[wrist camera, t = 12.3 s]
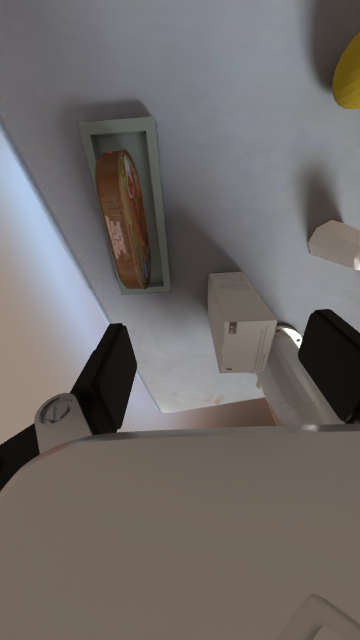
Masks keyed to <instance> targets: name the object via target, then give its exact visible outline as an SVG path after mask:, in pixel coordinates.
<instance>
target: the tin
mask: <svg viewBox="0 0 360 640" xmlns="http://www.w3.org/2000/svg"><path fill="white" fill-rule="evenodd" d="M95 181H96V189H97V196H98V200H99V204H100V208H101V212H102V216H103V220H104V224H105V228H106V232H107V236H108V239H109V243H110V247H111V251H112V255H113V259H114V262H115V266H116V270H117V273H118V276H119V278H120V280H121V282H122V284H123V285H124V286H125V287H126V288H128V289H147V288H148V287H149V284H150V278H151V255H150V247H149V240H148V233H147V226H146V219H145V212H144V205H143V198H142V192H141V186H140V182H139V178H138V173H137V170H136V167H135V164H134V162H133V159H132V157H131V155H130V153H129V152H128V151H127V150H126V149H122V150H121V151H109V152H104V153H102V154H101V155H99V157H98V159H97V162H96V168H95Z"/></svg>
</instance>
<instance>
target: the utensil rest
mask: <svg viewBox="0 0 360 640" xmlns="http://www.w3.org/2000/svg"><path fill="white" fill-rule="evenodd" d="M77 124H78V128H79V132H80V136H81V140H82V144H83V147H84V151H85V155H86V159H87V163H88V167H89V171H90V175H91V178H92V182H93V186H94V190H95V194H96V198H97V202H98V206H99V209H100V213H101V217H102V221H103V225H104V229H105V233H106V237H107V240H108V244H109V248H110V252H111V256H112V260H113V264H114V268H115V271H116V275H117V279H118V283H119V287H120V291H121V295H124V294H141V293H158V292H171V278H170V268H169V257H168V246H167V235H166V224H165V213H164V202H163V191H162V180H161V169H160V158H159V147H158V136H157V125H156V120H155V117H154V116H153V117H140V118H127V119H115V120H102V121H89V122H77ZM122 149H126V150H127V151H128V152H129V153H130V155H131V157H132V159H133V162H134V164H135V167H136V170H137V173H138V178H139V182H140V186H141V192H142V198H143V205H144V212H145V219H146V226H147V233H148V240H149V247H150V255H151V278H150V284H149V287H148V288H147V289H128V288H126V287H125V286H124V285H123V284H122V282H121V280H120V278H119V276H118V273H117V270H116V266H115V262H114V259H113V255H112V251H111V247H110V243H109V239H108V236H107V232H106V228H105V224H104V220H103V216H102V212H101V208H100V204H99V200H98V196H97V189H96V181H95V168H96V162H97V159H98V157H99V155H101V154H102V153H104V152H109V151H121V150H122Z"/></svg>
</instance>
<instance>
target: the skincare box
mask: <svg viewBox="0 0 360 640" xmlns="http://www.w3.org/2000/svg"><path fill="white" fill-rule="evenodd" d="M208 318H209V323H210V328H211V333H212V338H213V343H214V348H215V353H216V358H217V363H218V368H219V372H220V373H239V372H264V371H265V367H266V363H267V360H268V356H269V352H270V348H271V344H272V340H273V336H274V332H275V328H276V325H277V319H276V318H275V316H274V315H273V313H272V312H271V311H270V309H269V308H268V307H267V305H266V304H265V302H264V301H263V299H262V298H261V297H260V295H259V294H258V292H257V291H256V290H255V288H254V287H253V285H252V284H251V282H250V281H249V280H248V278H247V277H246V276H245V274H244V273H243V272H229V273H209V276H208Z"/></svg>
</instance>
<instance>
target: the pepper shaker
mask: <svg viewBox="0 0 360 640" xmlns="http://www.w3.org/2000/svg"><path fill="white" fill-rule="evenodd" d="M308 245H309V249H310V254H312V255H314V256H317V257H320V258H323V259H326V260H329V261H332V262H335V263H338V264H341V265H344V266H347V267H350V268H353V269H356V270H360V230H358V229H355V228H353V227H351V226H349V225H347V224H344V223H341V222H338V221H335V220H330V221H329V222H327V223H325V224H323V225H321V226H319V227H317V228H316V230H315V231H314V233H313V235H312V236H311V238H310V240H309V241H308Z"/></svg>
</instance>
